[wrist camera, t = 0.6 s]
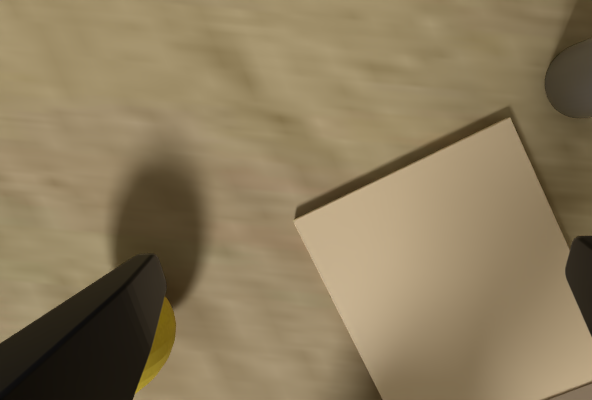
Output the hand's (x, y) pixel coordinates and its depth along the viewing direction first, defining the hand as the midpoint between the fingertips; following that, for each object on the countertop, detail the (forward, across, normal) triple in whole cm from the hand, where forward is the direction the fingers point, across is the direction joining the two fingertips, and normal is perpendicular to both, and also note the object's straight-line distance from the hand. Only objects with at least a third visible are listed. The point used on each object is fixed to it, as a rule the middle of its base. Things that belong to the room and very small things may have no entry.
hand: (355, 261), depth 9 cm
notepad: (+10, -6, +11) cm, 16 cm away
